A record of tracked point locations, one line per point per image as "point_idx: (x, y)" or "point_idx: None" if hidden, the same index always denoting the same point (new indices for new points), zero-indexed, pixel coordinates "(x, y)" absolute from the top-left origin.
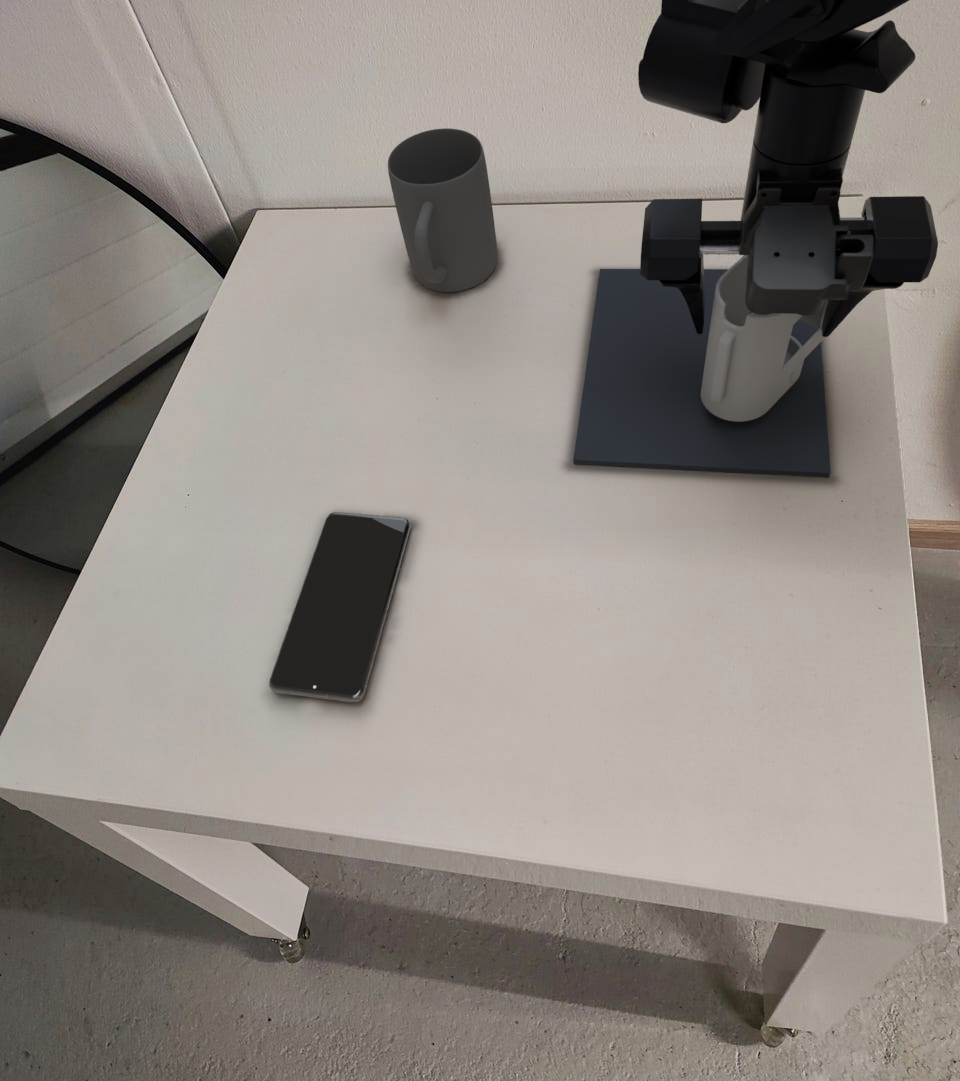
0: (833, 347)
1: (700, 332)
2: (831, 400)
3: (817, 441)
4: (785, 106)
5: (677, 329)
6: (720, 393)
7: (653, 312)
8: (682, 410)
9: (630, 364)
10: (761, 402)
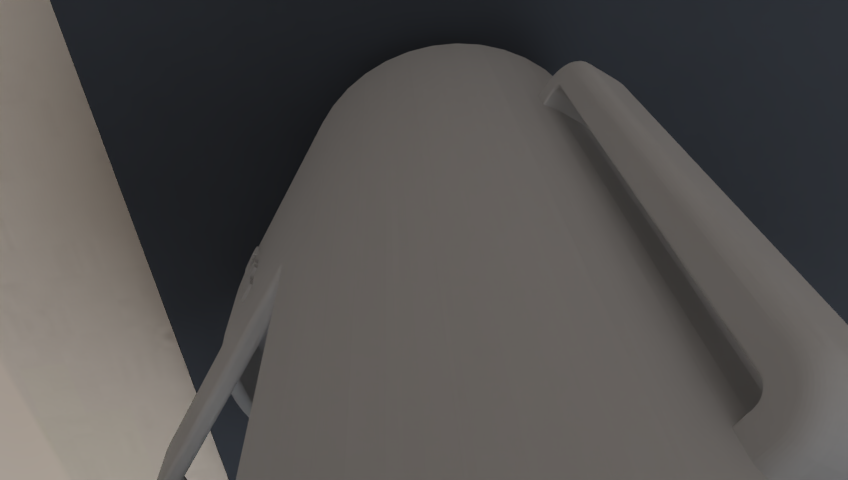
0: (174, 416)
1: None
2: (122, 234)
3: (100, 16)
4: None
5: None
6: (597, 82)
7: None
8: (645, 106)
9: None
10: (355, 117)
